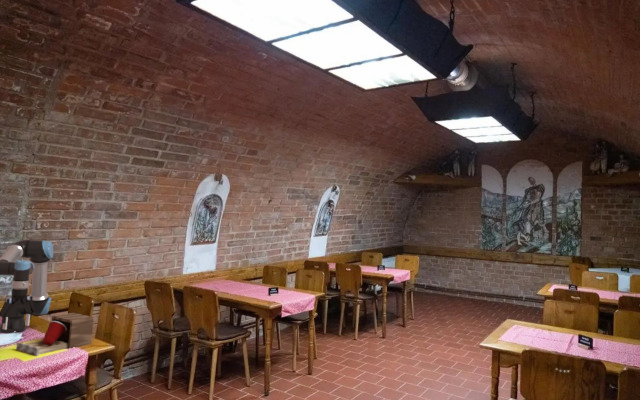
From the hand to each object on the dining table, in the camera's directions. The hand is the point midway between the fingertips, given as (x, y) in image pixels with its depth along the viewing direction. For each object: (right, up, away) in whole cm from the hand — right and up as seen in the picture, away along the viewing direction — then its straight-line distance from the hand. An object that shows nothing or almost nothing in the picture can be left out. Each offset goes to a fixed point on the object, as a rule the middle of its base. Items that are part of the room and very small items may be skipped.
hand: (16, 327), depth 255 cm
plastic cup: (+8, -14, +17) cm, 23 cm away
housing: (+14, -19, +30) cm, 38 cm away
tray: (+7, -17, +14) cm, 23 cm away
